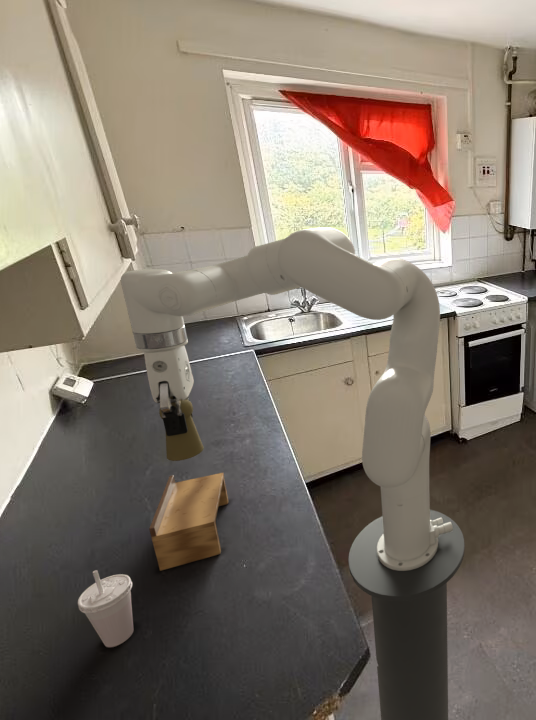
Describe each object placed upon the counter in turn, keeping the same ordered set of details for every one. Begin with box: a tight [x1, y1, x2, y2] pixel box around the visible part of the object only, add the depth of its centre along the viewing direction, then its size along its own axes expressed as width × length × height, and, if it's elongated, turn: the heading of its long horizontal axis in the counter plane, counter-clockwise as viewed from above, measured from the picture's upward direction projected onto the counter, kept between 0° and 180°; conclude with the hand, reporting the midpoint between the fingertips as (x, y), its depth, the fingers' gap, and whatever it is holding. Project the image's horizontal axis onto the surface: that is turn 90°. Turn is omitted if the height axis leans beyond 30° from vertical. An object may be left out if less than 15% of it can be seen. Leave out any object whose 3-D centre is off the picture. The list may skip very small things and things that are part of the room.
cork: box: [158, 399, 204, 462], centre depth 82 cm, size 6×6×11 cm
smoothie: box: [77, 569, 135, 648], centre depth 68 cm, size 6×6×14 cm
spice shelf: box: [149, 472, 229, 572], centre depth 90 cm, size 10×18×10 cm, turn 26°
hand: (180, 425), depth 82 cm, fingers closed on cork, 5 cm apart
